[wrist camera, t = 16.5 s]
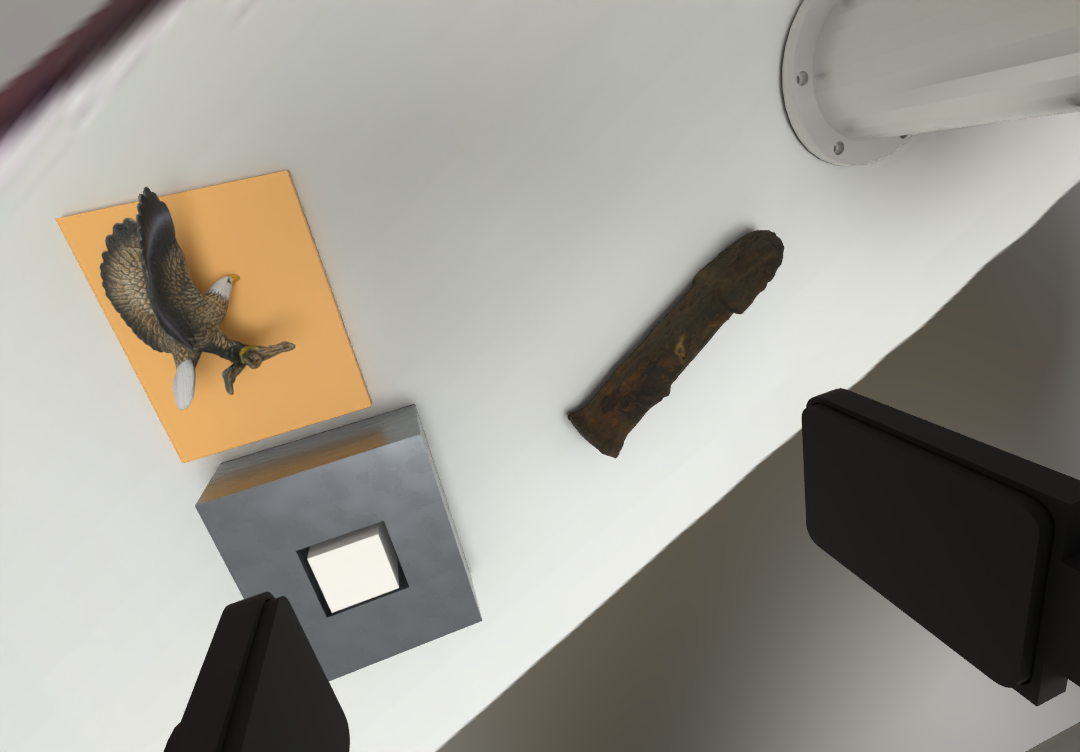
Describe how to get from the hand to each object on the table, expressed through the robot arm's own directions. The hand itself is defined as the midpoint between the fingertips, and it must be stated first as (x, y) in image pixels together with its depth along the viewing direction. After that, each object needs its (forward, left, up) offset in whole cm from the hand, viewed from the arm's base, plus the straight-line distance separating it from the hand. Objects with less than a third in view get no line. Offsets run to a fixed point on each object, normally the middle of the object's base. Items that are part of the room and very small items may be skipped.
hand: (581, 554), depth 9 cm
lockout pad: (+11, -2, -26) cm, 29 cm away
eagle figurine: (+12, -4, -26) cm, 29 cm away
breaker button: (+9, +13, -25) cm, 30 cm away
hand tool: (-15, +6, -27) cm, 31 cm away
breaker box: (+9, +13, -26) cm, 31 cm away
